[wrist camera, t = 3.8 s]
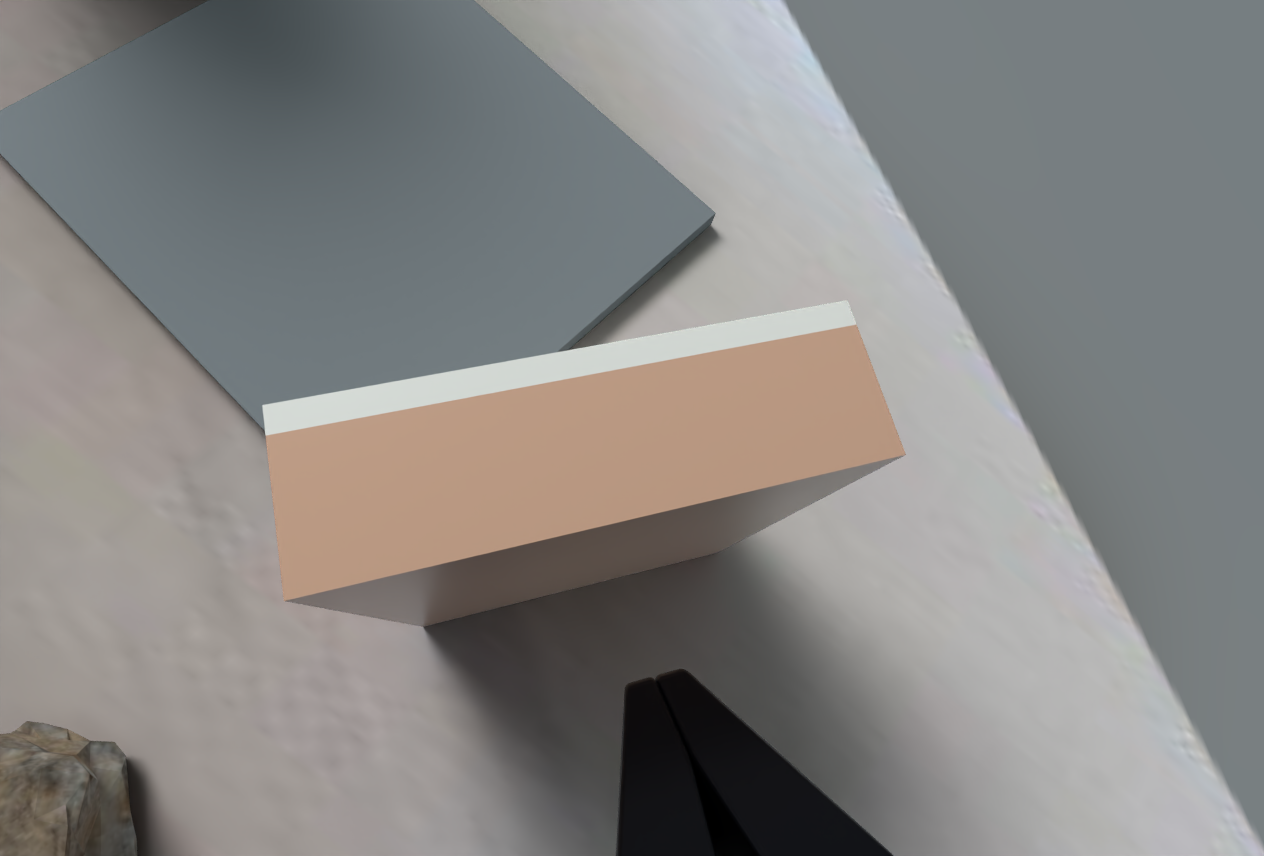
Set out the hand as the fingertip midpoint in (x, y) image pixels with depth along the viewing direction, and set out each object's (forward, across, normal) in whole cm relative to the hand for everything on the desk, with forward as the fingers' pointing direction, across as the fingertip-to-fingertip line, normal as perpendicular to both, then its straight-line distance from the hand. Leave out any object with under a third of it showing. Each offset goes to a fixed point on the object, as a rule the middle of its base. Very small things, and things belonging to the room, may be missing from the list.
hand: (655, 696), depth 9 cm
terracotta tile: (+8, 0, +4) cm, 9 cm away
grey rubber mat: (+17, +3, -5) cm, 18 cm away
